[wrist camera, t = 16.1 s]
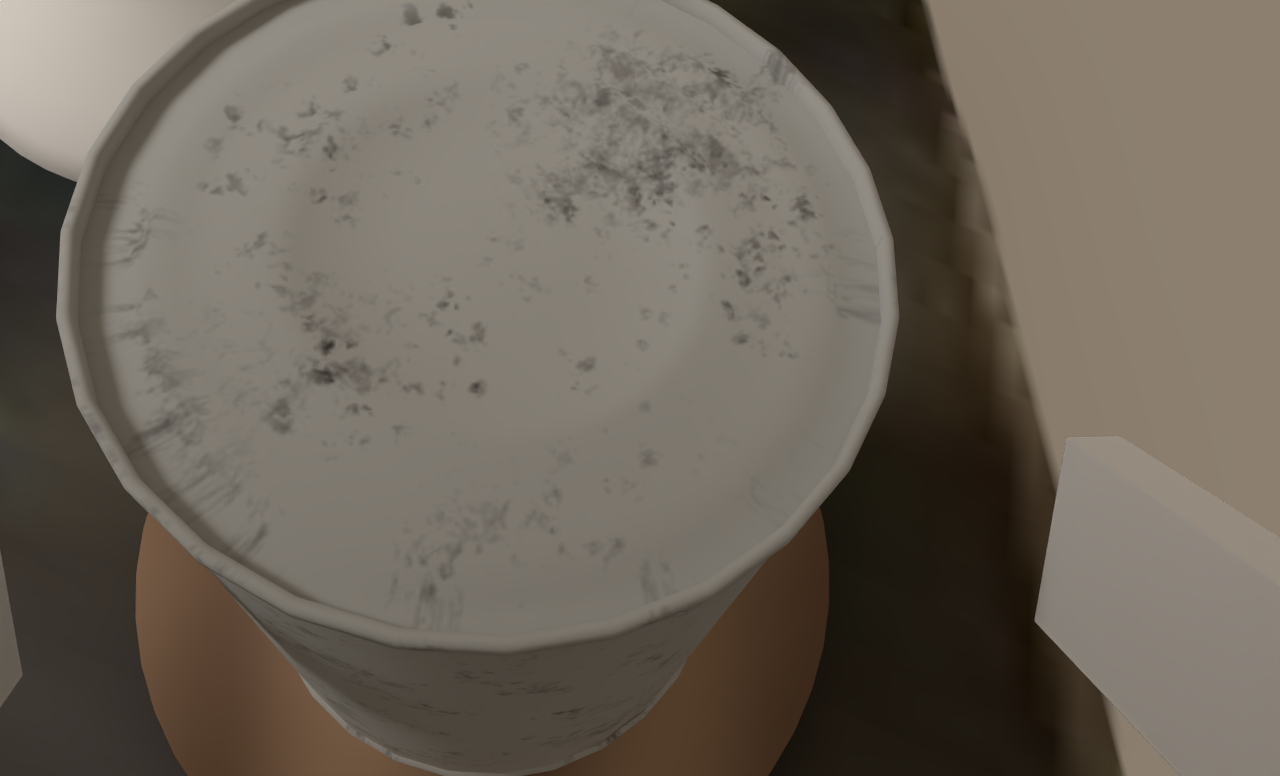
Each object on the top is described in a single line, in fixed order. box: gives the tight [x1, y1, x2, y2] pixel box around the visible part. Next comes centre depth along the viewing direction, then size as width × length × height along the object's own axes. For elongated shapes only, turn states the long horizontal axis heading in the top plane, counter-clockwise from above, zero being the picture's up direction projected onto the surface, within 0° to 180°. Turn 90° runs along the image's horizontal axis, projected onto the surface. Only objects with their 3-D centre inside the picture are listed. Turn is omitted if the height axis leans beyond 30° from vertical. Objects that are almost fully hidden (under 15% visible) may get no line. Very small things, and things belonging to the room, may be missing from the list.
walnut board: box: [136, 507, 829, 776], centre depth 24 cm, size 15×15×1 cm
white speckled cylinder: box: [56, 0, 899, 776], centre depth 18 cm, size 10×10×12 cm
